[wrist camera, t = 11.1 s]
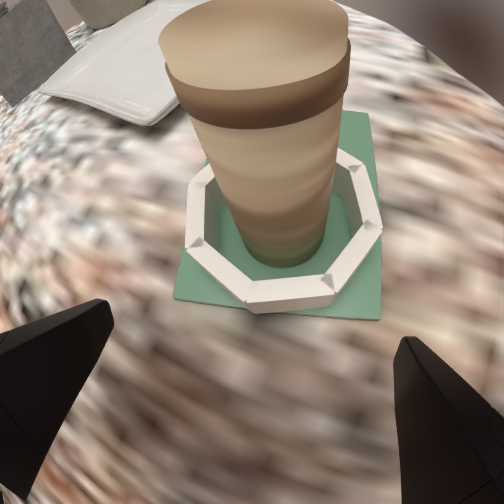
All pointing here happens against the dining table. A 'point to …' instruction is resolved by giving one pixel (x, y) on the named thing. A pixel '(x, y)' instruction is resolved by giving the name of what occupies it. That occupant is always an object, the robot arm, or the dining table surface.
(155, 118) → the square plate
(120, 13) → the canister
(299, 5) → the tan tapered tumbler
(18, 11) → the hip flask
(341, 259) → the octagonal cup coaster
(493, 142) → the dining table surface
